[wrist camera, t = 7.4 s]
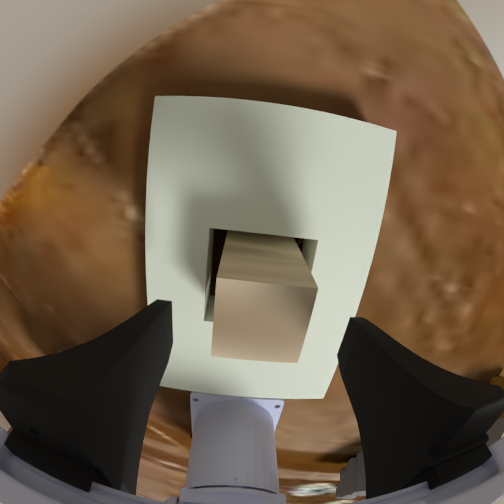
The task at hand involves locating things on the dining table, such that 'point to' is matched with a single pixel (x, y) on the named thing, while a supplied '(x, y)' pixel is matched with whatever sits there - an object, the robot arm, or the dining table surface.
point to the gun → (355, 470)
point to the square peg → (262, 299)
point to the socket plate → (260, 225)
